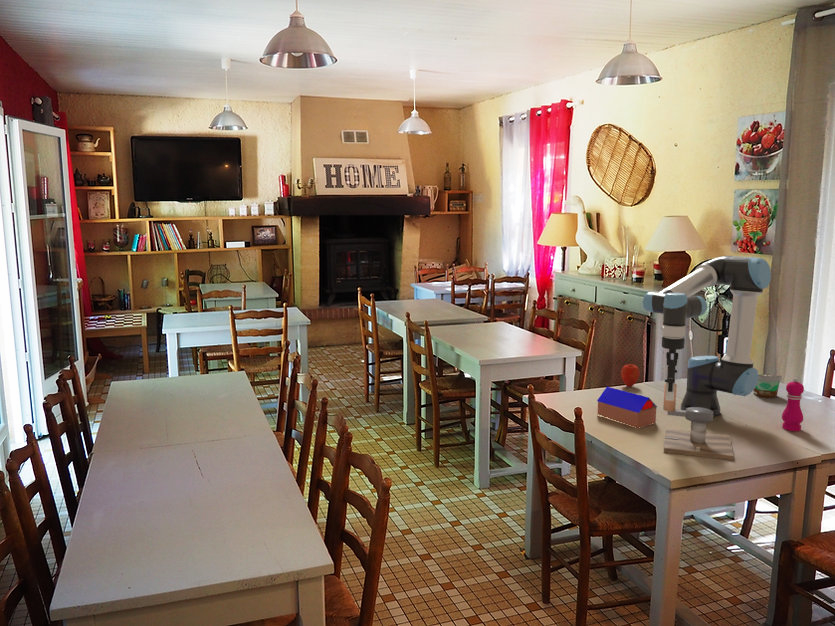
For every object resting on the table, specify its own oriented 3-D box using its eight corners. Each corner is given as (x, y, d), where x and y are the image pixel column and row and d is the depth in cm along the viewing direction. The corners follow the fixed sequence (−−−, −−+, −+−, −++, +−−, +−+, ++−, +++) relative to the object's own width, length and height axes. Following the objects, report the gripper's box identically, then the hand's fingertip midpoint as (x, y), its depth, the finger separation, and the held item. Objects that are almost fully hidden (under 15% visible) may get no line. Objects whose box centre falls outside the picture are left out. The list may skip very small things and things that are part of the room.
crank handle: (712, 416, 244) (714, 384, 242) (713, 424, 235) (715, 391, 234) (663, 411, 250) (664, 380, 248) (662, 419, 241) (664, 387, 239)
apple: (641, 389, 316) (642, 366, 315) (622, 389, 317) (623, 366, 315) (636, 384, 325) (637, 362, 323) (618, 384, 325) (619, 362, 324)
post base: (665, 432, 257) (666, 408, 255) (729, 439, 249) (730, 414, 247) (663, 452, 236) (665, 425, 235) (733, 460, 229) (735, 433, 227)
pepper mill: (791, 432, 256) (795, 380, 253) (776, 426, 263) (780, 376, 260) (806, 430, 258) (811, 379, 255) (791, 425, 265) (796, 374, 261)
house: (615, 411, 284) (616, 384, 282) (656, 423, 268) (658, 394, 266) (596, 416, 277) (597, 388, 275) (637, 429, 261) (639, 400, 259)
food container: (752, 397, 302) (753, 375, 300) (749, 393, 308) (751, 372, 306) (783, 399, 298) (785, 377, 297) (780, 396, 304) (781, 374, 303)
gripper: (662, 330, 253) (659, 385, 256) (661, 342, 230) (657, 403, 233) (684, 331, 250) (681, 387, 254) (684, 344, 227) (681, 405, 231)
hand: (669, 395), depth 243 cm, fingers open, 13 cm apart
